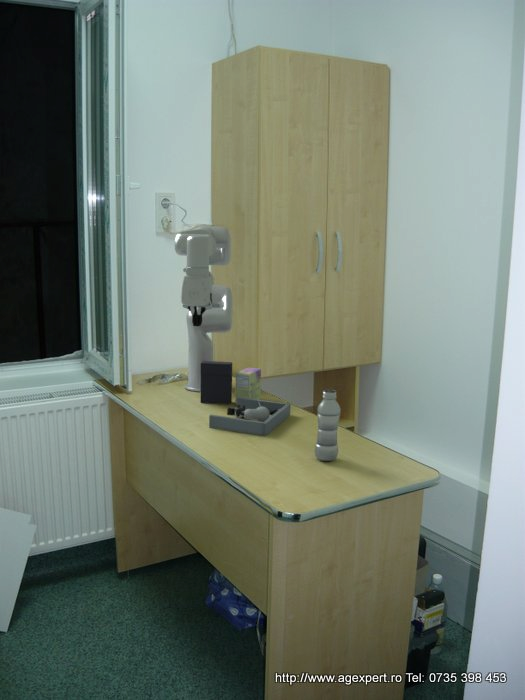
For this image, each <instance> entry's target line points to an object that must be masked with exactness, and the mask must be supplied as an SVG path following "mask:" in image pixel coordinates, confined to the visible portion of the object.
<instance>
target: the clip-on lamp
mask: <svg viewBox="0 0 525 700" xmlns="http://www.w3.org/2000/svg"><path fill="white" fill-rule="evenodd" d="M258 403H259V405H260V407H258V408H257V409H247V410H245V406H243V408H240V405H237V404H236V407H232V406H230V407H227V411H226V415H227V416H234V417H235V418H238V419H245V420H255V421H259V422H264V421H265V420H267V419H268V418H269V417H270V415H273V414H272V413H275V412H277V411H278V410H280V409H275V410H273V411H270V412H269V410H268V409H267V408H266V407H263V406H261V404H260V402H259V401H258Z"/></svg>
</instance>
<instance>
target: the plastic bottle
mask: <svg viewBox="0 0 525 700" xmlns="http://www.w3.org/2000/svg"><path fill="white" fill-rule="evenodd" d="M341 411H342V409H341V407H340V404H339V403H338V401H337V390H333V389H324V390H323V391H322V400H321V402H320V403H319V404H318V405H317V412H316V413H317V427H318V429H317V437H316V438H317V439H316V443H315V447H314V455H315V457H316V459H317V460H319V461H322V462H331V461H332V462H333V461H335V460H336V459H337V458H338V454H339V446H338V445H339V444H338V429H339V420H340V418H341V417H340V416H341Z"/></svg>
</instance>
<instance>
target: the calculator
mask: <svg viewBox="0 0 525 700" xmlns="http://www.w3.org/2000/svg"><path fill="white" fill-rule="evenodd" d="M232 393H233V362H231V361H217V360H215V361H214V360H213V361H202V363H201V392H200V403H202V404H216V405H220V404H221V405H231V403H232V402H233V401H232V400H233V399H232V397H233V396H232V395H233V394H232Z"/></svg>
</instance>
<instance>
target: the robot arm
mask: <svg viewBox="0 0 525 700" xmlns="http://www.w3.org/2000/svg"><path fill="white" fill-rule="evenodd" d="M231 239H232V238H231V234H230V231H229V229H228V228H227V227H225V226H220V225H219V226H215V225H214V226H213V225H200V226H198V227H196V228H195V229H191V230H185V231H179V232H178V233H177V234H176V235H175V239H174V242H173V244H174V245H173V246H174V251H175V253H176V254H177V255H178V256H183V257H185V256H186V267H184V268H183V269H182V270H183V271H182V272H183V273H185V275H184V276H183V280H182V286H181V287H182V288H181V296H180V297H181V298H180V299H181V302H180V303H181V304H182V308H185V309H188V311H187V312H186V325H187V326H186V327H187V335H188V337H187V338H188V362H187V363H188V364H187V365H188V372H187V375H188V376H187V377H188V379H187V381H188V382H186V383H184V385H183V386H184V389H185V390H187V391H190V392H199V393H201V363H202V361H214V342H213V340H212V339H211V337H210V336H209V335H208V333H213V334H214V333H218V334H225V333H229V332H230V331H231V330H232V327H233V308H234V307H233V305H234V304H233V303H234V302H233V300H234V299H233V292H232V289H231V288H230V287H229V286H225V285H215V277H214V275H213V273H212V272H211V271H210V266H222V267H223V266H227V265H228V264H229V263H230V262H231V258H232V245H231V244H232V243H231V242H232V241H231Z"/></svg>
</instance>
